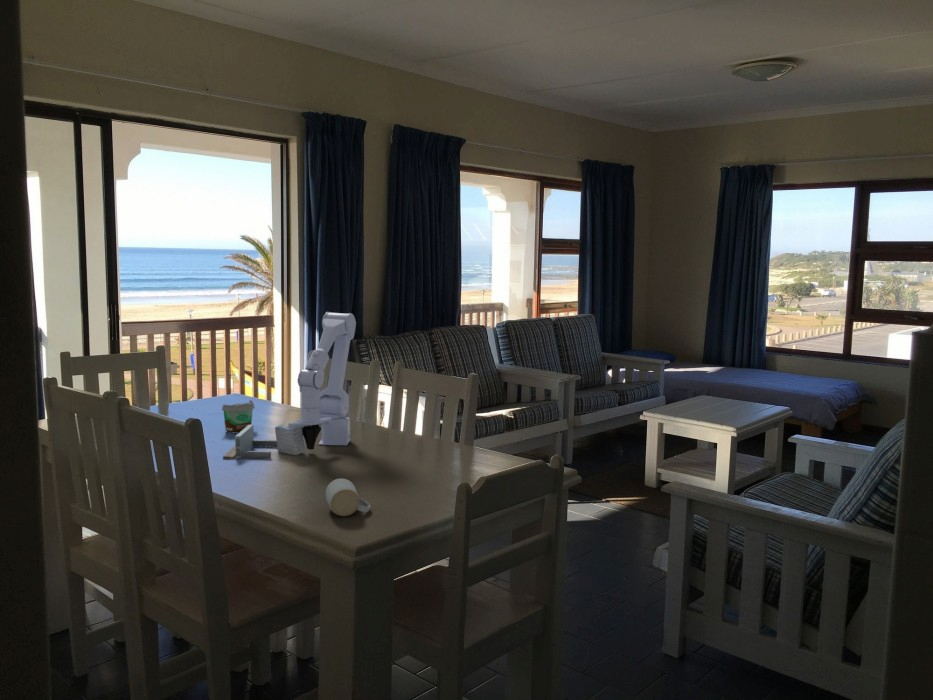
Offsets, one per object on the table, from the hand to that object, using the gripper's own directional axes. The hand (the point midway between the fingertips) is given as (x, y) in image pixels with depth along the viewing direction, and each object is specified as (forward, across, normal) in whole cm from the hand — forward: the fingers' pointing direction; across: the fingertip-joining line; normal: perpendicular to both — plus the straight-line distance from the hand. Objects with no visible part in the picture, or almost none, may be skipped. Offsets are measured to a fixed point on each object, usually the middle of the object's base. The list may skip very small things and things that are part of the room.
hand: (310, 448), depth 240 cm
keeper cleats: (+1, +12, -10) cm, 16 cm away
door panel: (+1, +16, -14) cm, 21 cm away
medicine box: (+1, +5, -4) cm, 6 cm away
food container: (+2, +4, -40) cm, 40 cm away
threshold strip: (+1, +18, -15) cm, 24 cm away
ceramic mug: (+2, +21, +54) cm, 58 cm away
